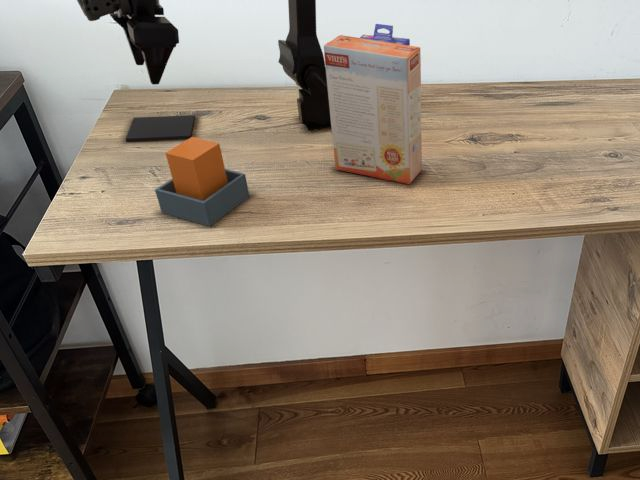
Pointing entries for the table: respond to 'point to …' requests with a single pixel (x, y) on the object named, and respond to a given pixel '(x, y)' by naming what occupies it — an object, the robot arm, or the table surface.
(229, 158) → the table surface
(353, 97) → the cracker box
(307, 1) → the robot arm
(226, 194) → the tote
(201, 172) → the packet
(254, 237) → the table surface
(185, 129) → the mat
